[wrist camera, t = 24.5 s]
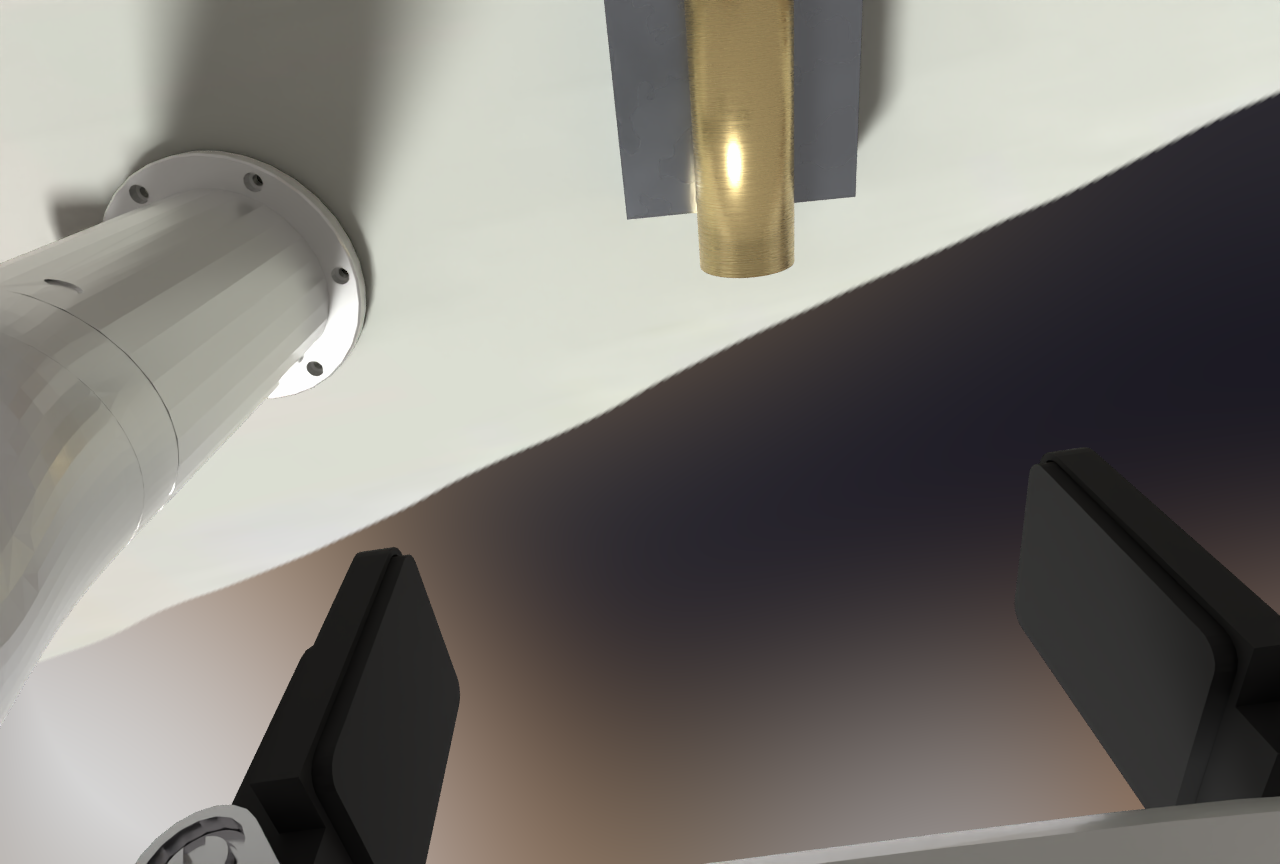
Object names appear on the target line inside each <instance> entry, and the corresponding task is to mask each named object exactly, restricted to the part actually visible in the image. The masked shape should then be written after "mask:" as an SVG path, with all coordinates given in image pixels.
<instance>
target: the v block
mask: <svg viewBox="0 0 1280 864" xmlns="http://www.w3.org/2000/svg"><path fill="white" fill-rule="evenodd" d="M604 4H605V14H606V23H607V33H608V42H609V52H610V61H611V71H612V80H613V90H614V99H615V109H616V118H617V128H618V137H619V147H620V156H621V166H622V175H623V185H624V194H625V204H626V213H627V219H637V218H647V217H657V216H667V215H677V214H687V213H697V202H696V186H695V170H694V153H693V137H692V121H691V104H690V88H689V72H688V56H687V39H686V23H685V7H684V0H604ZM862 4H863V0H794V203H796V202H806V201H816V200H826V199H836V198H846V197H855V194H856V167H857V140H858V113H859V85H860V58H861V31H862Z"/></svg>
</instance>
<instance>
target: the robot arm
mask: <svg viewBox="0 0 1280 864" xmlns="http://www.w3.org/2000/svg"><path fill="white" fill-rule="evenodd" d="M257 175H258V176H260V178H261V180H262V181H263V184H261V183H260V182H258V180H257ZM145 189H146V191H147V192H148V194H147V192H146V191H145ZM342 268H344V269H345V270H346V271H347V272H348V274H349V275H345V274H344V273H343V272H342ZM365 311H366V291H365V282H364V278H363V274H362V270H361V265H360V262H359V260H358V257H357V255H356V253H355V250H354V248H353V246H352V243H351V241H350V239H349V238H348V236H347V234H346V233H345V231H344V230H343V228H342V227H341V225H340V224H339V222H338V220H337V219H336V217H335V216H334V215H333V214H332V213H331V212H330V211H329V210H328V209H327V207H326V206H325V205H324V204H323V203H322V202H321V201H320V200H319V199H318V197H316V196H315V195H314V194H313V193H311V192H310V191H309V190H308V189H306V188H305V187H304V186H303V185H302V184H300V183H299V182H298V181H297V180H295V179H294V178H292V177H290V176H288V175H287V174H285V173H283V172H282V171H280V170H278V169H276V168H275V167H273V166H271V165H268V164H266V163H263V162H261V161H258V160H255V159H253V158H250V157H247V156H244V155H239V154H234V153H228V152H223V151H190V152H186V153H181V154H176V155H172V156H168V157H166V158H163V159H160V160H158V161H155V162H152V163H149V164H148V165H146V166H144V167H143V168H141V169H140V170H138V171H137V172H135V173H134V174H132V175H131V176H129V177H128V179H127V180H126V181H125V182H124V183H123V184H122V185H121V186H120V187H119V188H118V190H117V191H116V192H115V193H114V195H113V197H112V199H111V201H110V203H109V205H108V207H107V209H106V211H105V213H104V218H103V222H102V223H100V224H98V225H95V226H93V227H90V228H88V229H85V230H83V231H80V232H78V233H75V234H73V235H70V236H68V237H65V238H63V239H60V240H58V241H55V242H53V243H50V244H48V245H45V246H43V247H40V248H37V249H35V250H32V251H30V252H27V253H25V254H22V255H20V256H17V257H15V258H12V259H10V260H7V261H5V262H2V263H0V726H1V725H2V723H3V722H4V720H5V718H6V716H7V714H8V713H9V711H10V709H11V708H12V706H13V704H14V702H15V701H16V699H17V697H18V695H19V694H20V692H21V690H22V688H23V687H24V685H25V683H26V681H27V680H28V678H29V676H30V674H31V673H32V671H33V669H34V667H35V666H36V664H37V662H38V660H39V659H40V657H41V655H42V653H43V652H44V650H45V649H46V647H47V646H48V644H49V642H50V641H51V639H52V638H53V636H54V634H55V633H56V632H57V630H58V629H59V627H60V626H61V625H62V623H63V622H64V620H65V619H66V618H67V616H68V615H69V613H70V612H71V611H72V609H73V608H74V606H75V605H76V604H77V603H78V601H79V600H80V599H81V598H82V597H83V595H84V594H85V593H86V592H87V590H88V589H89V588H90V587H91V586H92V584H93V583H94V582H95V581H96V579H97V578H98V577H99V576H100V574H101V573H102V572H103V571H104V570H105V569H106V568H107V567H108V566H109V564H110V563H111V562H112V561H113V560H114V559H115V558H116V557H117V555H118V554H119V553H120V552H121V551H122V550H123V549H124V548H125V547H126V546H127V545H128V543H129V542H130V541H131V540H132V539H133V538H134V537H135V536H136V535H137V534H138V533H139V532H140V530H141V529H142V528H143V527H144V526H145V525H146V524H147V523H148V522H149V521H150V520H151V519H152V518H153V517H154V516H155V515H156V514H157V513H158V512H159V511H160V510H161V509H162V508H163V507H164V506H165V505H166V504H167V503H168V502H169V501H170V500H171V499H172V498H173V497H174V496H175V494H176V493H177V492H178V491H179V490H180V489H181V488H182V487H183V486H184V485H185V484H186V483H187V482H188V481H189V480H190V479H191V478H192V477H193V476H194V474H195V473H196V472H197V471H198V470H199V469H200V468H201V467H202V466H203V465H204V464H205V463H206V462H207V461H208V460H209V459H210V458H211V457H212V456H213V454H214V453H215V452H216V451H217V450H218V449H219V448H220V447H221V446H222V445H223V444H224V443H225V442H226V441H227V440H228V439H229V438H230V437H231V436H232V434H233V433H234V432H235V431H236V430H237V429H238V428H239V427H240V426H241V425H242V424H243V423H244V422H245V421H246V420H247V419H248V418H249V417H250V416H251V414H252V413H253V412H254V411H255V410H256V409H257V408H258V407H259V406H260V405H261V404H262V403H263V402H264V401H265V400H266V399H275V398H280V397H286V396H291V395H296V394H298V393H301V392H303V391H306V390H308V389H311V388H313V387H315V386H317V385H318V384H320V383H321V382H323V381H324V380H326V379H327V378H329V377H330V376H331V375H332V374H333V373H334V372H335V371H336V370H337V369H338V368H339V367H340V366H341V365H342V364H343V362H344V361H345V360H346V358H347V357H348V356H349V354H350V353H351V352H352V350H353V349H354V347H355V345H356V343H357V340H358V338H359V336H360V333H361V331H362V328H363V323H364V317H365ZM317 362H318V363H320V364H321V365H319V364H318V363H317ZM1015 612H1016V615H1017V619H1018V621H1019V624H1020V626H1021V627H1022V629H1023V630H1024V632H1025V633H1026V635H1027V636H1028V638H1029V639H1030V641H1031V642H1032V644H1033V645H1034V647H1035V648H1036V649H1037V651H1038V652H1039V654H1040V655H1041V657H1042V658H1043V660H1044V661H1045V663H1046V664H1047V665H1048V667H1049V668H1050V669H1051V671H1052V673H1053V674H1054V676H1055V677H1056V679H1057V680H1058V682H1059V683H1060V685H1061V686H1062V688H1063V689H1064V690H1065V692H1066V693H1067V695H1068V696H1069V698H1070V699H1071V701H1072V702H1073V704H1074V705H1075V707H1076V708H1077V709H1078V711H1079V712H1080V714H1081V715H1082V717H1083V718H1084V720H1085V721H1086V723H1087V724H1088V726H1089V727H1090V728H1091V730H1092V731H1093V733H1094V734H1095V736H1096V737H1097V739H1098V740H1099V742H1100V743H1101V745H1102V746H1103V748H1104V749H1105V750H1106V752H1107V753H1108V755H1109V756H1110V758H1111V759H1112V761H1113V762H1114V764H1115V765H1116V767H1117V768H1118V769H1119V771H1120V772H1121V774H1122V775H1123V777H1124V778H1125V780H1126V781H1127V782H1128V784H1129V785H1130V787H1131V788H1132V790H1133V791H1134V793H1135V794H1136V796H1137V797H1138V798H1139V800H1140V802H1141V803H1142V805H1143V806H1144V807H1145V809H1141V810H1131V811H1122V812H1113V813H1104V814H1096V815H1088V816H1081V817H1072V818H1064V819H1056V820H1047V821H1040V822H1031V823H1024V824H1016V825H1007V826H999V827H991V828H982V829H975V830H967V831H958V832H950V833H942V834H934V835H926V836H918V837H910V838H902V839H894V840H886V841H878V842H871V843H863V844H855V845H847V846H839V847H832V848H824V849H816V850H809V851H800V852H793V853H785V854H777V855H770V856H762V857H755V858H747V859H739V860H731V861H724V862H716V863H708V864H1280V615H1278V614H1277V613H1276V612H1275V611H1274V610H1273V609H1272V608H1271V607H1269V606H1268V605H1267V604H1266V603H1265V602H1264V601H1263V600H1261V599H1260V598H1259V597H1258V596H1257V595H1256V594H1255V593H1254V592H1252V591H1251V590H1250V589H1249V588H1248V587H1247V586H1246V585H1244V584H1243V583H1242V582H1241V581H1240V580H1239V579H1238V578H1237V577H1236V576H1234V575H1233V574H1232V573H1231V572H1230V571H1229V570H1228V569H1226V568H1225V567H1224V566H1223V565H1222V564H1221V563H1220V562H1219V561H1217V560H1216V559H1215V558H1214V557H1213V556H1212V555H1211V554H1209V553H1208V552H1207V551H1206V550H1205V549H1204V548H1203V547H1202V546H1201V545H1199V544H1198V543H1197V542H1196V541H1195V540H1194V539H1193V538H1192V537H1190V536H1189V535H1188V534H1187V533H1186V532H1185V531H1184V530H1183V529H1181V528H1180V527H1179V526H1178V525H1177V524H1176V523H1175V522H1173V521H1172V520H1171V519H1170V518H1169V517H1168V516H1167V515H1166V514H1164V513H1163V512H1162V511H1161V510H1160V509H1159V508H1158V507H1156V506H1155V505H1154V504H1153V503H1152V502H1151V501H1149V499H1148V498H1146V497H1145V496H1144V495H1143V494H1142V493H1141V492H1140V491H1138V490H1137V489H1136V488H1135V487H1134V486H1133V485H1132V484H1131V483H1129V482H1128V481H1127V480H1126V479H1125V478H1124V477H1123V476H1122V475H1120V474H1119V473H1118V472H1117V471H1116V470H1115V469H1113V467H1111V466H1110V465H1109V464H1108V463H1107V462H1106V461H1104V459H1102V458H1101V457H1100V456H1099V455H1098V454H1097V453H1096V452H1094V451H1093V450H1092V449H1090V448H1085V447H1084V448H1077V449H1069V450H1062V451H1056V452H1049V453H1046V454H1044V455H1043V457H1042V459H1041V461H1040V464H1035V465H1033V466H1032V468H1031V470H1030V474H1029V481H1028V490H1027V500H1026V508H1025V516H1024V525H1023V534H1022V542H1021V551H1020V559H1019V568H1018V577H1017V585H1016V594H1015ZM459 701H460V691H459V682H458V679H457V676H456V673H455V670H454V668H453V665H452V662H451V660H450V657H449V654H448V651H447V648H446V645H445V643H444V640H443V637H442V635H441V632H440V629H439V626H438V623H437V621H436V618H435V615H434V613H433V609H432V607H431V604H430V601H429V598H428V596H427V593H426V590H425V588H424V585H423V582H422V579H421V576H420V574H419V571H418V568H417V565H416V562H415V560H414V558H413V557H412V556H411V555H403V556H402V554H401V552H400V551H399V549H398V548H395V547H392V548H385V549H378V550H372V551H364V552H359V553H357V554H356V556H355V557H354V559H353V561H352V563H351V565H350V568H349V570H348V572H347V574H346V576H345V578H344V580H343V583H342V585H341V587H340V589H339V591H338V593H337V595H336V598H335V600H334V602H333V604H332V606H331V608H330V611H329V613H328V615H327V617H326V619H325V621H324V624H323V626H322V628H321V630H320V632H319V634H318V637H317V639H316V641H315V643H314V645H313V646H312V647H310V648H309V649H307V650H306V651H305V653H304V654H303V656H302V657H301V659H300V661H299V663H298V666H297V668H296V670H295V672H294V674H293V676H292V678H291V680H290V682H289V684H288V687H287V689H286V691H285V693H284V695H283V697H282V699H281V701H280V704H279V706H278V708H277V710H276V712H275V714H274V716H273V718H272V720H271V722H270V725H269V727H268V729H267V731H266V733H265V735H264V737H263V739H262V742H261V744H260V746H259V748H258V750H257V752H256V754H255V756H254V759H253V760H252V763H251V765H250V767H249V769H248V771H247V773H246V775H245V777H244V779H243V782H242V784H241V786H240V788H239V790H238V792H237V794H236V796H235V799H234V801H233V803H232V805H221V806H214V807H211V808H208V809H204V810H201V811H198V812H196V813H194V814H192V815H190V816H188V817H186V818H184V819H183V820H181V821H179V822H177V823H176V824H174V825H173V826H172V827H170V828H169V829H168V830H167V831H165V832H164V833H163V834H161V835H160V836H159V837H158V838H156V839H155V841H154V842H153V843H152V844H151V845H150V846H149V847H148V848H147V849H146V850H145V851H144V852H143V854H142V855H141V856H140V857H139V859H138V860H137V862H136V864H425V863H426V859H427V854H428V849H429V845H430V840H431V835H432V830H433V826H434V821H435V816H436V812H437V807H438V802H439V797H440V792H441V788H442V783H443V779H444V774H445V768H446V764H447V759H448V755H449V750H450V745H451V741H452V735H453V731H454V726H455V721H456V717H457V712H458V707H459Z"/></svg>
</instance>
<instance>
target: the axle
mask: <svg viewBox="0 0 1280 864" xmlns="http://www.w3.org/2000/svg"><path fill="white" fill-rule="evenodd" d="M684 7H685V23H686V39H687V56H688V72H689V88H690V104H691V121H692V137H693V153H694V170H695V186H696V202H697V218H698V235H699V251H700V267H701V269H702V270H703V271H704V272H706V273H708V274H711V275H714V276H719V277H727V278H749V277H759V276H765V275H770V274H774V273H778V272H781V271H783V270H785V269H787V268H789V267H791V266H792V265H793V263H794V0H684Z"/></svg>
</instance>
